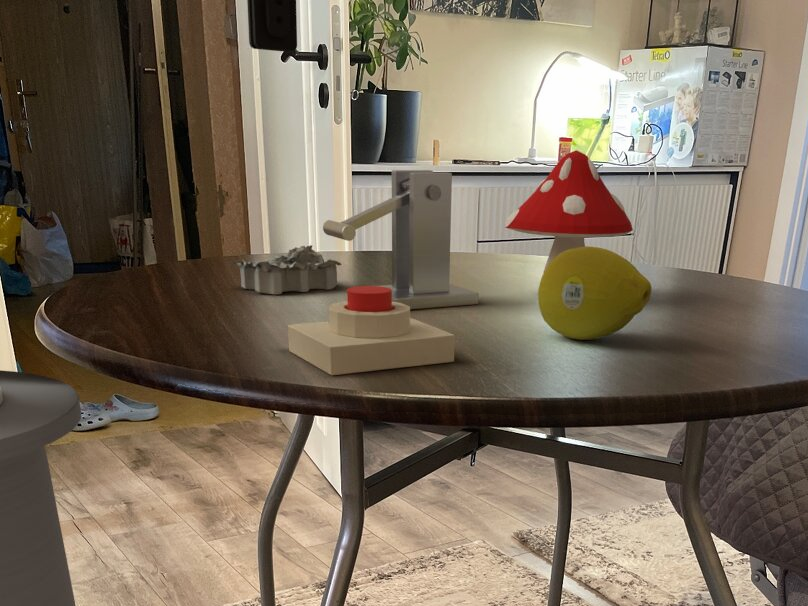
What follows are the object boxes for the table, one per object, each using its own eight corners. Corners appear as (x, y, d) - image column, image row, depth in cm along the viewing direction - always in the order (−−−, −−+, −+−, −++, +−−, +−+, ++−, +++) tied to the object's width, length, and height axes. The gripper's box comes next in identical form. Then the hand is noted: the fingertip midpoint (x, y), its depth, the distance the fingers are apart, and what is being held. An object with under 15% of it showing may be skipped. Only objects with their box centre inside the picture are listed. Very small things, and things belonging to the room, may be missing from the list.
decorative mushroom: (499, 303, 99) (507, 150, 92) (503, 283, 111) (510, 146, 104) (630, 309, 98) (648, 154, 91) (619, 288, 110) (634, 150, 103)
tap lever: (347, 248, 90) (338, 223, 89) (327, 242, 94) (318, 218, 92) (447, 199, 93) (440, 175, 92) (424, 195, 97) (417, 172, 95)
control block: (331, 375, 70) (329, 322, 68) (288, 351, 77) (285, 302, 75) (454, 362, 75) (455, 312, 73) (404, 340, 82) (404, 293, 80)
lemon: (514, 334, 85) (519, 243, 81) (567, 324, 90) (574, 238, 86) (607, 356, 78) (617, 258, 74) (659, 344, 83) (671, 251, 79)
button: (359, 317, 72) (358, 294, 71) (340, 309, 75) (340, 287, 74) (399, 314, 74) (399, 291, 73) (380, 306, 76) (379, 284, 76)
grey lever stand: (395, 310, 94) (395, 174, 88) (362, 298, 100) (360, 169, 94) (478, 304, 98) (483, 173, 92) (442, 292, 104) (444, 169, 98)
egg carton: (316, 280, 110) (314, 244, 108) (346, 289, 105) (346, 252, 103) (233, 286, 104) (230, 248, 102) (261, 296, 99) (258, 256, 97)
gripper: (176, -255, 64) (196, 49, 72) (241, -332, 52) (256, 40, 61) (278, -231, 67) (287, 57, 76) (360, -298, 56) (359, 50, 64)
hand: (273, 49), depth 68 cm, fingers closed
